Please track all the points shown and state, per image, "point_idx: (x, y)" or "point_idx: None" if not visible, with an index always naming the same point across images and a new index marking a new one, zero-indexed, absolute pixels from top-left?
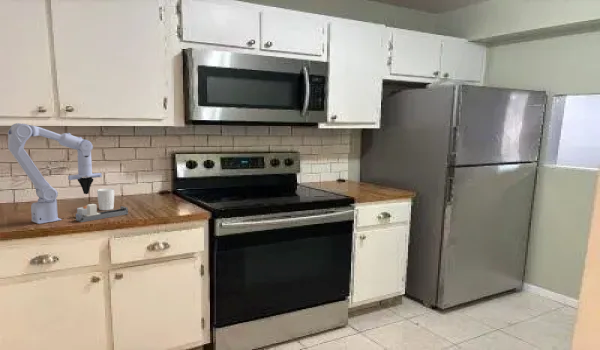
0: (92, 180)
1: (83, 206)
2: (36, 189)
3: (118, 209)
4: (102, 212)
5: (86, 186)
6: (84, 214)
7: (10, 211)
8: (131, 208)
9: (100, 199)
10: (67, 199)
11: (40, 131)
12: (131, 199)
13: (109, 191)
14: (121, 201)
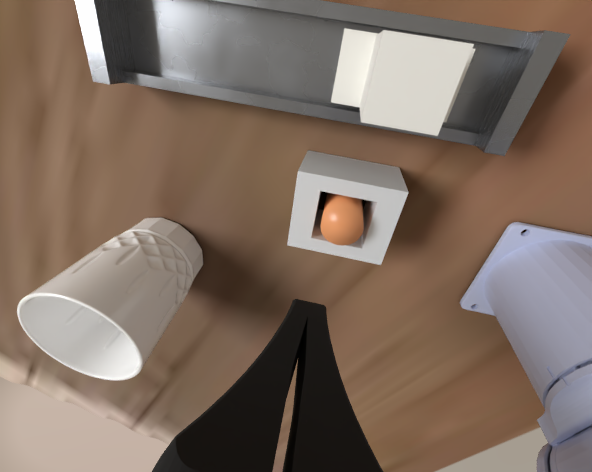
0: (188, 450)
1: (360, 234)
2: None
3: (144, 73)
4: (280, 97)
5: (313, 380)
6: (386, 173)
7: (425, 464)
8: (45, 141)
9: (171, 289)
10: None
11: None
12: (9, 304)
13: (69, 290)
14: None
